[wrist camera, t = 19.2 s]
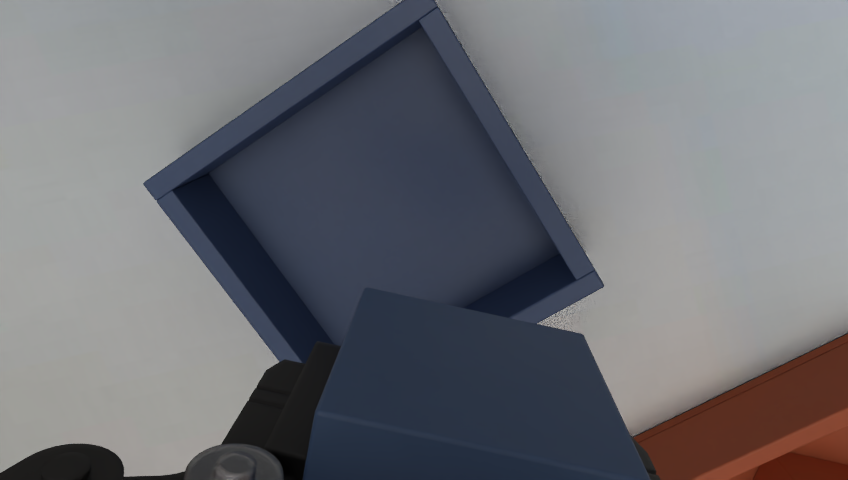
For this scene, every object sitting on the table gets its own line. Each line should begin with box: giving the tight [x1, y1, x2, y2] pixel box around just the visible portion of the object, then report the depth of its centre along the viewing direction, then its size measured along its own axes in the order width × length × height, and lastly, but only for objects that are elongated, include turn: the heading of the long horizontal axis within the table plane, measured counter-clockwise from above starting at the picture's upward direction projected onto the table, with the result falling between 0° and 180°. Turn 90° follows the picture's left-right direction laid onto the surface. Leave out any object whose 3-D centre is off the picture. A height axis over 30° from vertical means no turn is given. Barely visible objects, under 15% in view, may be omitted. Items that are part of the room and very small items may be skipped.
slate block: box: [302, 287, 651, 480], centre depth 10 cm, size 4×4×4 cm
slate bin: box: [143, 0, 604, 364], centre depth 25 cm, size 13×13×4 cm
